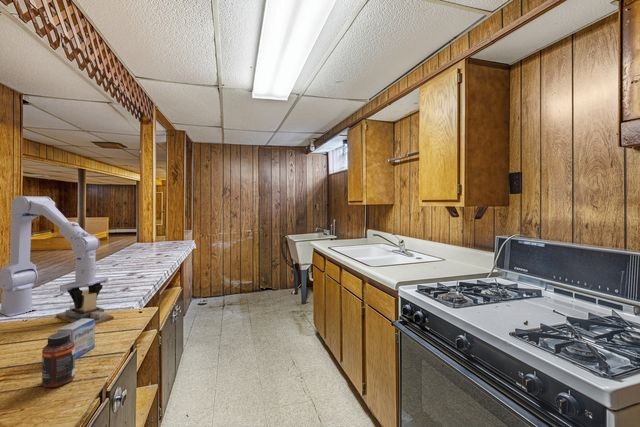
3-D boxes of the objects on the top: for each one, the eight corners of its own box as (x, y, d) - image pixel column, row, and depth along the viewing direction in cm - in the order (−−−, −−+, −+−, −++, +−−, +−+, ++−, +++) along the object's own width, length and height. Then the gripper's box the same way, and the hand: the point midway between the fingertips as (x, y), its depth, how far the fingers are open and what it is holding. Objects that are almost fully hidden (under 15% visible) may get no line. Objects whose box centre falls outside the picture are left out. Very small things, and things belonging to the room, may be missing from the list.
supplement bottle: (81, 375, 75) (81, 330, 75) (58, 390, 69) (58, 341, 69) (59, 373, 76) (59, 328, 75) (34, 387, 70) (35, 339, 70)
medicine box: (72, 361, 81) (73, 329, 81) (56, 360, 82) (56, 329, 81) (95, 347, 89) (95, 318, 89) (80, 346, 89) (80, 317, 89)
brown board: (56, 316, 110) (56, 308, 110) (84, 309, 118) (84, 301, 118) (85, 327, 102) (85, 319, 102) (113, 319, 110) (113, 310, 110)
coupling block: (83, 315, 107) (84, 295, 107) (74, 312, 110) (74, 292, 109) (96, 311, 111) (96, 292, 110) (86, 308, 113) (87, 290, 113)
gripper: (67, 274, 101) (67, 314, 102) (113, 267, 114) (112, 302, 115) (56, 271, 104) (56, 310, 105) (102, 264, 117) (101, 299, 118)
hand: (85, 306), depth 110 cm, fingers closed on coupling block, 4 cm apart
